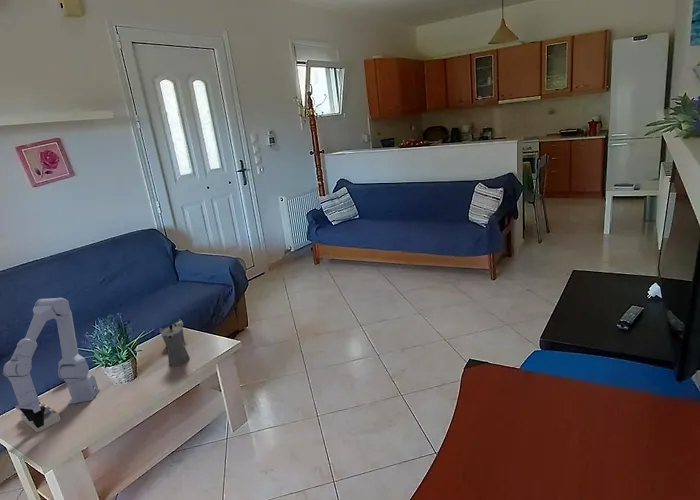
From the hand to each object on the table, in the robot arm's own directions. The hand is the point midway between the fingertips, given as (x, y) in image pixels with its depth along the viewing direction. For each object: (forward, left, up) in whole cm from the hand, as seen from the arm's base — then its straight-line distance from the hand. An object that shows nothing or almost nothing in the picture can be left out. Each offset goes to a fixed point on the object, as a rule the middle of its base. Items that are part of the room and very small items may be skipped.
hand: (36, 423), depth 164 cm
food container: (-37, -58, -4) cm, 69 cm away
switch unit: (+4, -9, -4) cm, 11 cm away
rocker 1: (+8, -12, 0) cm, 14 cm away
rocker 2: (+1, -5, 0) cm, 5 cm away
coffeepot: (-42, -39, -4) cm, 57 cm away
